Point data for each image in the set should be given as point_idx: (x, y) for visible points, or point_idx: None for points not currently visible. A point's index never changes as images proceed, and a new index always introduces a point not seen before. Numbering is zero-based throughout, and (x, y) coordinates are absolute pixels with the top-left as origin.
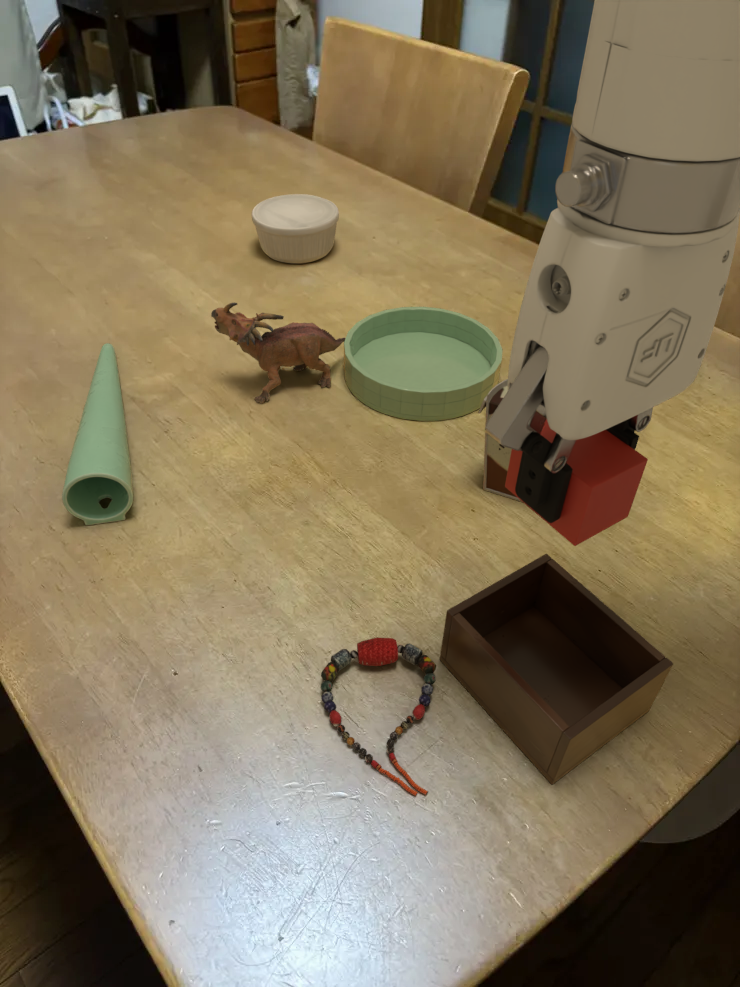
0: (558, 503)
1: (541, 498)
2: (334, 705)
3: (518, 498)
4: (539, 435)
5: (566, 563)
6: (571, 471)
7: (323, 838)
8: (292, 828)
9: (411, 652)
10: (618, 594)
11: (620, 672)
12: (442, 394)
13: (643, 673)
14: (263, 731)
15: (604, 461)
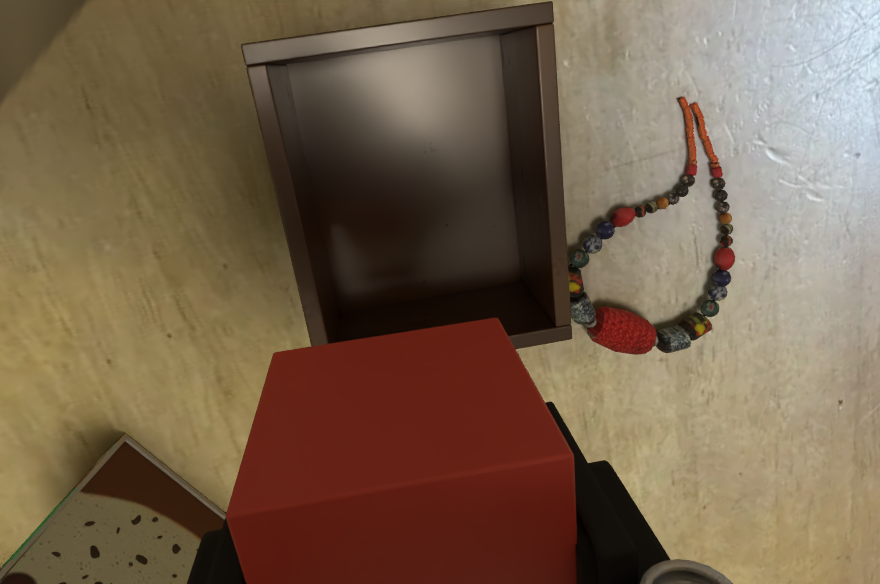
0: (576, 447)
1: (605, 481)
2: (720, 276)
3: (223, 517)
4: None
5: (220, 370)
6: (602, 549)
7: (826, 108)
8: (848, 139)
9: (589, 307)
10: (166, 278)
11: (294, 123)
12: None
13: (279, 83)
14: (800, 282)
15: (416, 556)
